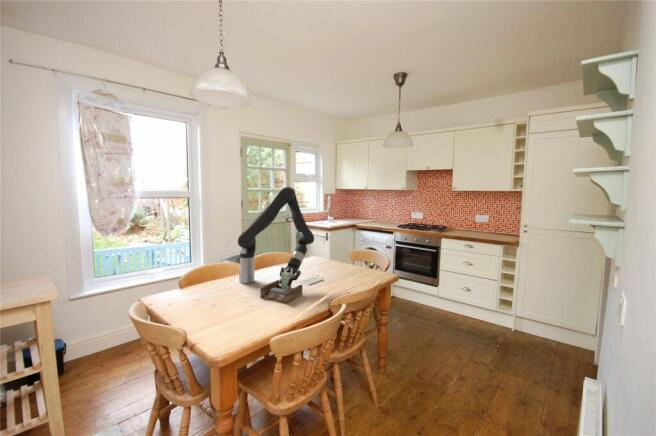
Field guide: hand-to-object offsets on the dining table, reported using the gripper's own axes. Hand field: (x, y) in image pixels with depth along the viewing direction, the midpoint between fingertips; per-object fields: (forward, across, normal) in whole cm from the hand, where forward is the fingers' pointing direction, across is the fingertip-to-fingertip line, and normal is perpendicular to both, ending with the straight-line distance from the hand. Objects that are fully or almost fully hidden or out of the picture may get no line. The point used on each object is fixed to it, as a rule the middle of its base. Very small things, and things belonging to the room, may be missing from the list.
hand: (284, 284), depth 167 cm
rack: (+7, 0, +3) cm, 8 cm away
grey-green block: (+3, 0, +5) cm, 6 cm away
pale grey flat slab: (-12, -4, +24) cm, 27 cm away
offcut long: (+8, 0, +1) cm, 8 cm away
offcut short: (+6, 0, -1) cm, 6 cm away
